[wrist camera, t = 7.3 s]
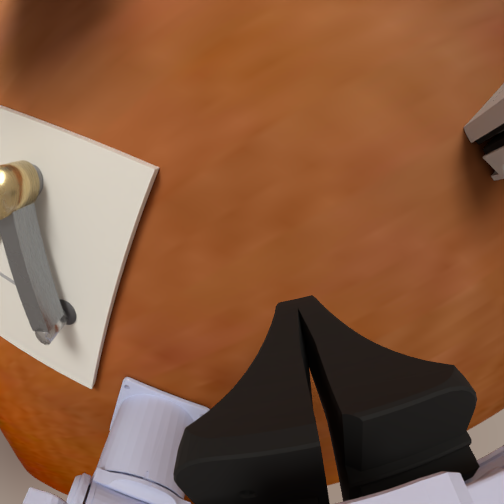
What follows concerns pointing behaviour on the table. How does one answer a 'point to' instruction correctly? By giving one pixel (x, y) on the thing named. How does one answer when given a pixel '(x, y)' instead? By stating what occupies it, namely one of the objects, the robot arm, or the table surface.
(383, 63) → the table surface
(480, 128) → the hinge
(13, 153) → the plate
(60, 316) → the divider leg
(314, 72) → the table surface
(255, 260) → the table surface
